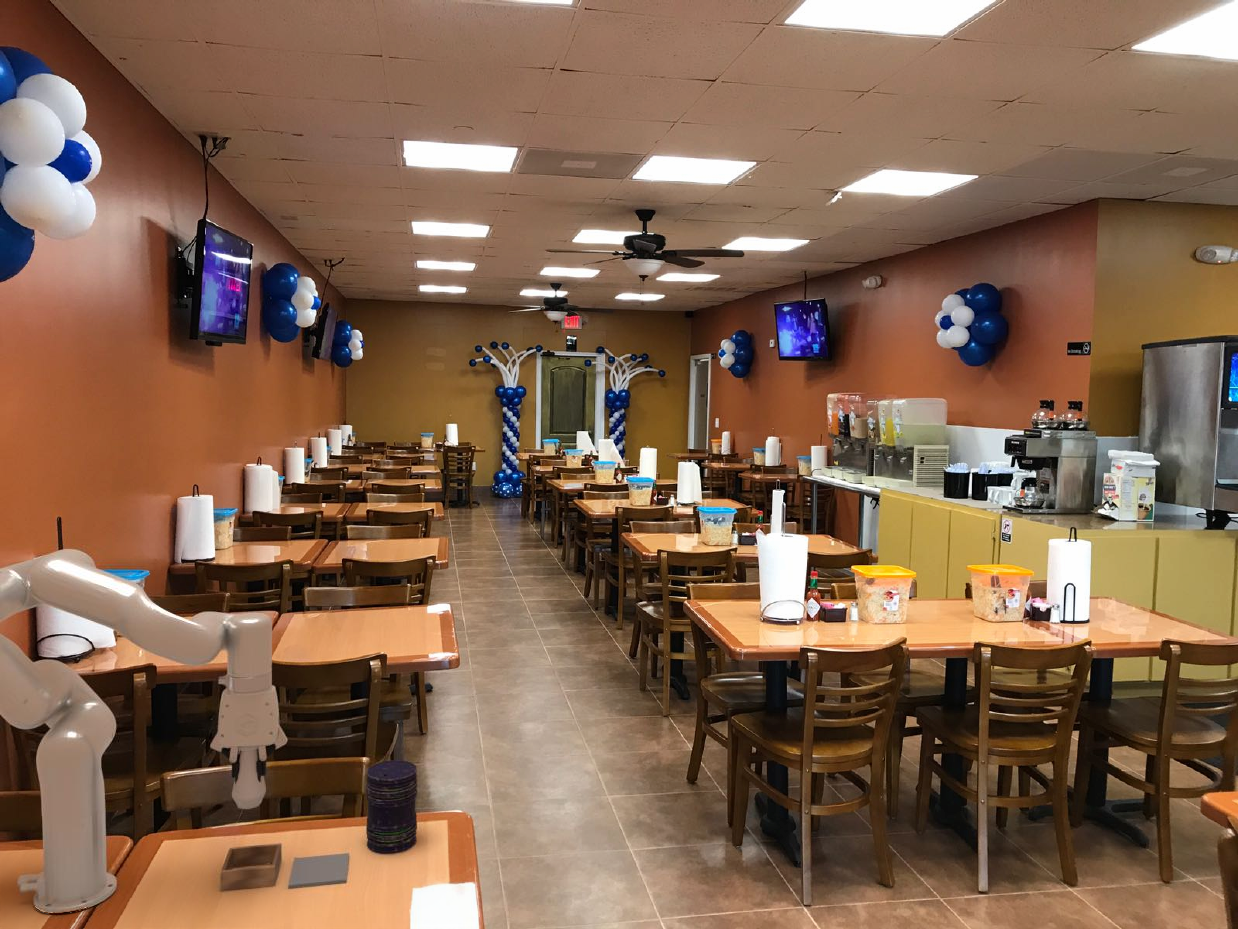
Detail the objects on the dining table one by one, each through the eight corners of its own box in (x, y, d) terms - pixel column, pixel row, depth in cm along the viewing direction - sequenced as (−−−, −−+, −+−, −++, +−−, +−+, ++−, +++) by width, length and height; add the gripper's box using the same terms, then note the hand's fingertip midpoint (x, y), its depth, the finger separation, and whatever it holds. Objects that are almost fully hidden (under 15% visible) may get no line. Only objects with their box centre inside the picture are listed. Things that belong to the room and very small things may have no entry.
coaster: (288, 888, 165) (288, 885, 165) (294, 861, 174) (294, 858, 174) (345, 882, 167) (345, 879, 167) (348, 856, 177) (348, 853, 177)
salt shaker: (253, 813, 164) (253, 742, 164) (225, 809, 166) (225, 739, 165) (272, 799, 170) (272, 731, 169) (244, 796, 171) (244, 728, 170)
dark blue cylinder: (380, 828, 188) (380, 758, 187) (425, 834, 186) (425, 762, 185) (357, 851, 179) (357, 777, 178) (403, 857, 177) (404, 782, 176)
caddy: (220, 891, 163) (220, 872, 163) (229, 865, 172) (229, 847, 172) (275, 886, 166) (274, 867, 165) (281, 861, 174) (281, 843, 174)
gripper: (196, 690, 161) (196, 792, 162) (294, 686, 165) (293, 785, 166) (205, 677, 168) (205, 775, 169) (299, 674, 172) (298, 769, 173)
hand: (249, 779), depth 168 cm, fingers closed on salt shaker, 3 cm apart
